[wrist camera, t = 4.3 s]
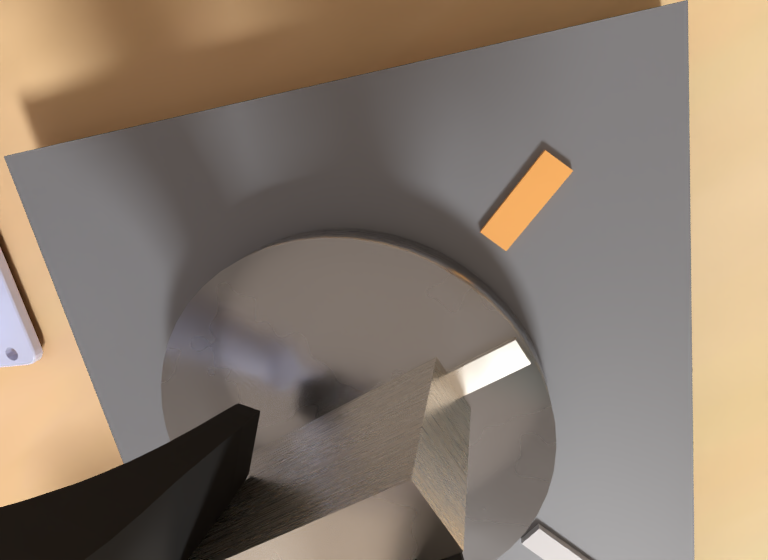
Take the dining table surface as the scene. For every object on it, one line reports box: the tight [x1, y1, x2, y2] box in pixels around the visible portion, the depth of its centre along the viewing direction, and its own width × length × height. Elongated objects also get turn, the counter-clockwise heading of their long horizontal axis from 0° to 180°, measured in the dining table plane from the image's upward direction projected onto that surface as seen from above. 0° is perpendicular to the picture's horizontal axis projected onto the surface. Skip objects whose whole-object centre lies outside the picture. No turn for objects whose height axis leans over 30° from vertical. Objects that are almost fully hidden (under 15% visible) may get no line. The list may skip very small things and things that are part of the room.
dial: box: [161, 229, 556, 560], centre depth 12 cm, size 11×11×6 cm
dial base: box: [4, 0, 694, 560], centre depth 15 cm, size 18×18×2 cm
